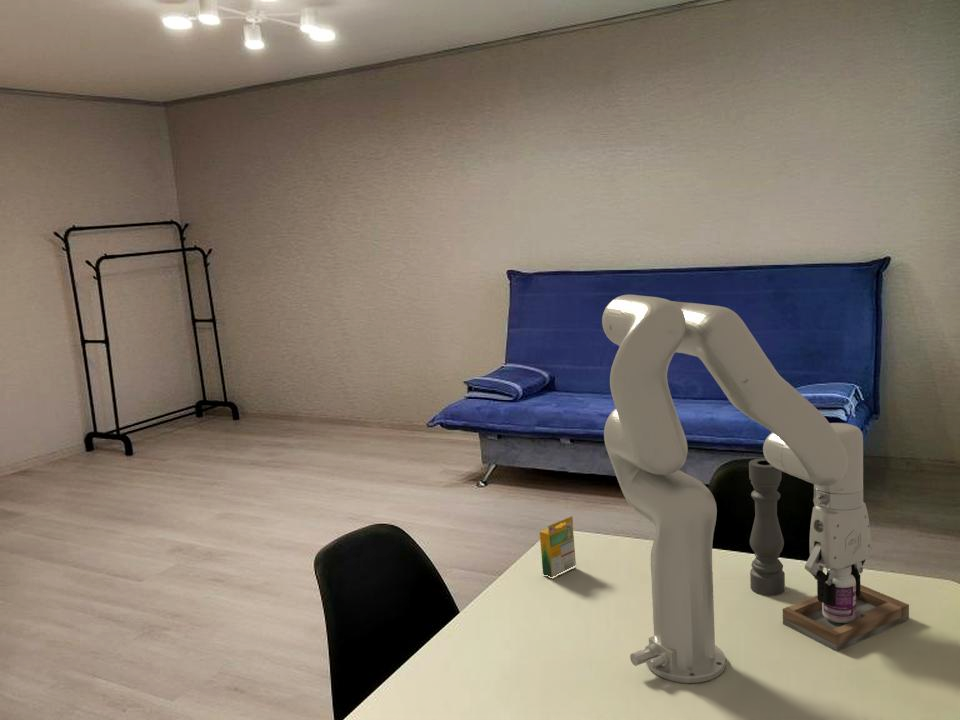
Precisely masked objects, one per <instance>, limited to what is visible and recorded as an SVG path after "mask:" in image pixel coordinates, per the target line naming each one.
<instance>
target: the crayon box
mask: <svg viewBox="0 0 960 720" xmlns="http://www.w3.org/2000/svg"><path fill="white" fill-rule="evenodd" d="M539 541H540V542H539V543H540V553H541V566H542V575H543V574H544V575H548V576H550V577H553V576H556V575H557V574H559V573H561V572H563V571H565V570H567V569H569V568H571V567H573V566H575V565H576V566H577V563H576V562H577V561H576V551H575V549H576V547H575V537H574V523H573V515H571V516H570V517H567V518H564V519H562V520H559V521H557V522H554V523H552V524H550V525H548V527H547V528H545V529H543V530H541V531H539Z"/></svg>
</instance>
